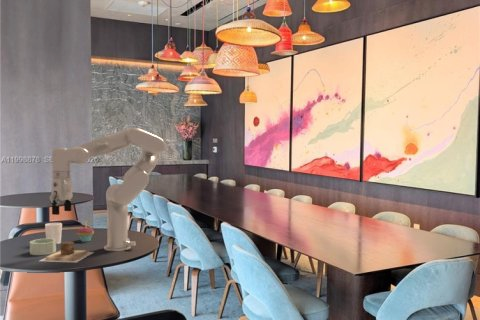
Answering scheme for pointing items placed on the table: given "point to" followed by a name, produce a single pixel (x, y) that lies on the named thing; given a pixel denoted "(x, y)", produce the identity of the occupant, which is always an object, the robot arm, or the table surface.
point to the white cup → (54, 231)
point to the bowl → (42, 246)
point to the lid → (67, 253)
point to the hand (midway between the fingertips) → (61, 212)
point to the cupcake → (85, 233)
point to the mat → (68, 261)
